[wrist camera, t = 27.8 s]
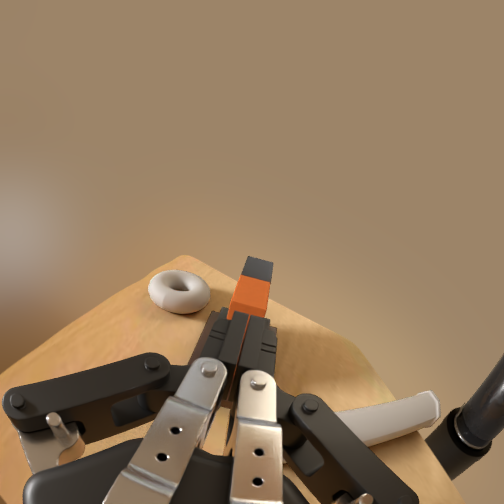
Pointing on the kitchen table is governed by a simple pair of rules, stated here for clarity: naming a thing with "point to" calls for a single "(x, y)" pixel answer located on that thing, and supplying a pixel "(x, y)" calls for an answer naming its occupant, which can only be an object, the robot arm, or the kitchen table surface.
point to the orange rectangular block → (249, 298)
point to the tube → (392, 418)
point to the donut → (179, 301)
